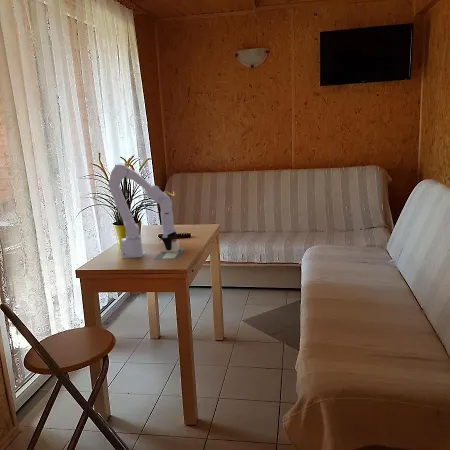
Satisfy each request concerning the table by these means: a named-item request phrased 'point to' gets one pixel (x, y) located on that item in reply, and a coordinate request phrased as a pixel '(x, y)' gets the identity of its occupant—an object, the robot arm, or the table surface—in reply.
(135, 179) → the robot arm
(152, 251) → the table surface
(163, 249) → the card box
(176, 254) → the mat
